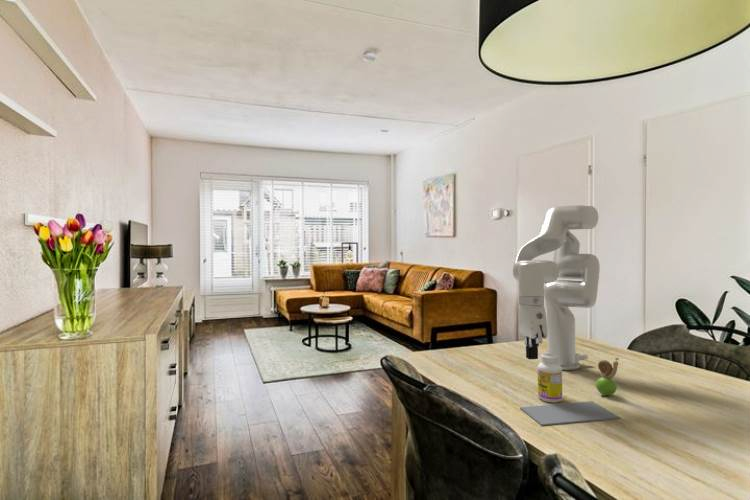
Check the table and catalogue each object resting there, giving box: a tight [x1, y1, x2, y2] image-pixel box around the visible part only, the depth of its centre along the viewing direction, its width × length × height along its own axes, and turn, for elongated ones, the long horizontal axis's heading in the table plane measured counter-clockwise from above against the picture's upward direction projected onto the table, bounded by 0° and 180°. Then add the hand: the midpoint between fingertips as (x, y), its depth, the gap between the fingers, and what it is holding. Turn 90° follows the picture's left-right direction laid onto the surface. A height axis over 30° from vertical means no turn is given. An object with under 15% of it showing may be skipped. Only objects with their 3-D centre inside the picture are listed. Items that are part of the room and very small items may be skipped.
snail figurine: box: [595, 357, 619, 397], centre depth 125 cm, size 5×6×12 cm
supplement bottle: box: [537, 353, 563, 403], centre depth 124 cm, size 7×7×13 cm
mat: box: [519, 400, 621, 427], centre depth 113 cm, size 22×11×1 cm, turn 98°
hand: (532, 358), depth 133 cm, fingers closed
